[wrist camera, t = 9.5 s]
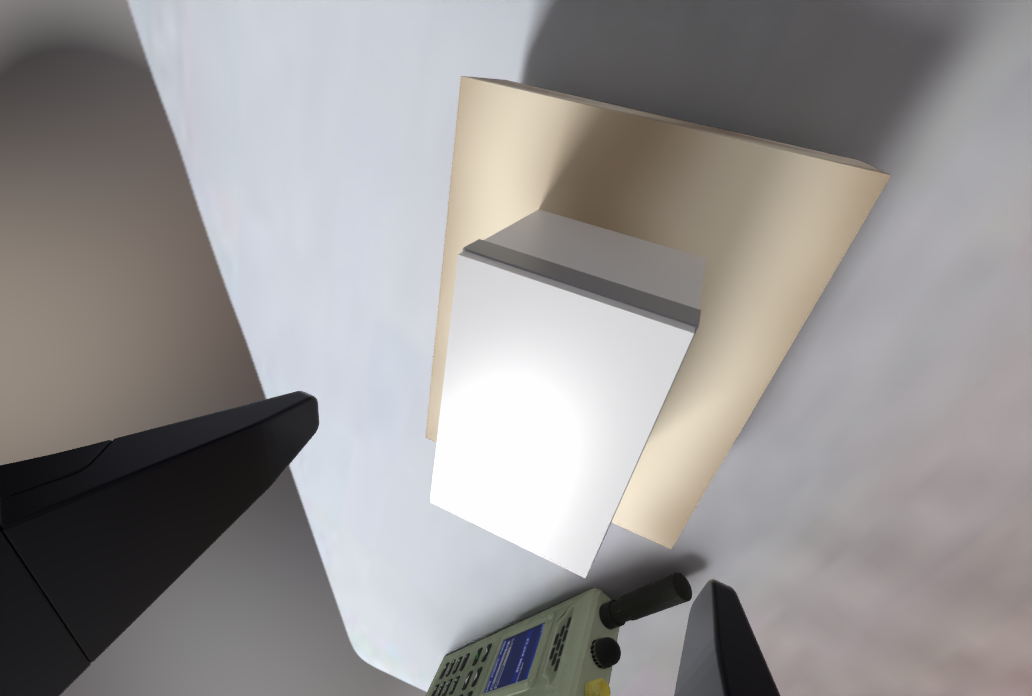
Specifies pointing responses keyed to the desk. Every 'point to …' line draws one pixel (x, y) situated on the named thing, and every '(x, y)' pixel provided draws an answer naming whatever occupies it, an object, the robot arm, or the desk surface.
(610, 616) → the handheld radio
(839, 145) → the desk surface
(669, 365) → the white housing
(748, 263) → the cream rectangular block
